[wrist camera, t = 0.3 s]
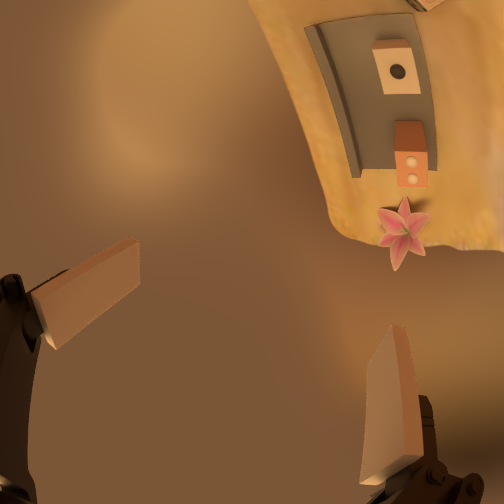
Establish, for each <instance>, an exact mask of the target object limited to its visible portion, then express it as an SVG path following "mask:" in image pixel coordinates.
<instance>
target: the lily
mask: <svg viewBox="0 0 504 504" xmlns="http://www.w3.org/2000/svg"><path fill="white" fill-rule="evenodd" d="M377 212H378V216H379V219H380V221H381V224H382V226H383V227H384V229H385V230H386V232H385V234H384V235H383V236H382V237H381V239H380V240H379V242H378V246H381V247H390V256H391V262H392V267H393V269H394V271H396V270H397V269H398V268H399V266H400V264H401V262H402V260H403V258H404V257H405V255H406V253H407V251H408V250H409V251H411V252H413V253H416V254H418V255H422V256H425V251H424V248H423V245H422V243H421V241H420V239H419V237H418V234H419V233H420V232H421V230H422V229H423V228H424V227H425V225H426V224H427V222H428V221H429V220H430V218H431V214H430V213H427V212H417V213H411V211H410V206H409V202H408V199H407V196H405V197H404V198H403V200H402V202H401V204H400V207H399V209H398V213H396V212H394V211H391V210H387V209H383V208H379V209H378V210H377Z"/></svg>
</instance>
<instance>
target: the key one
mask: <svg viewBox="0 0 504 504" xmlns="http://www.w3.org/2000/svg"><path fill="white" fill-rule="evenodd" d="M372 51H373V54H374V58H375V61H376V65H377V68H378V72H379V76H380V79H381V83H382V88H383V92H384V94H421V91H420V86H419V80H418V75H417V70H416V66H415V61H414V57H413V53H412V49H411V47H410V45H409V44H408V42H407V41H406V39H387V40H375V43H374V46H373V48H372Z"/></svg>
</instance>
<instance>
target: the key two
mask: <svg viewBox="0 0 504 504" xmlns="http://www.w3.org/2000/svg"><path fill="white" fill-rule="evenodd" d="M394 152H395V160H396V169H397V179H398V186H406V187H426V188H428V157H427V147H426V141H425V136H424V130H423V125H422V121H395V149H394Z"/></svg>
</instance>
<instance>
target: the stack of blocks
mask: <svg viewBox="0 0 504 504" xmlns="http://www.w3.org/2000/svg"><path fill="white" fill-rule="evenodd" d="M406 1H407V2H408V3H410V4H411V5H412V6H413V7H414V8H415V9H416V10H417V11H420V12H425V11H429V10H431V9H432V8H434V7H435V6H437V5H438V4H440V3H441V2H443V1H444V0H406Z"/></svg>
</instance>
